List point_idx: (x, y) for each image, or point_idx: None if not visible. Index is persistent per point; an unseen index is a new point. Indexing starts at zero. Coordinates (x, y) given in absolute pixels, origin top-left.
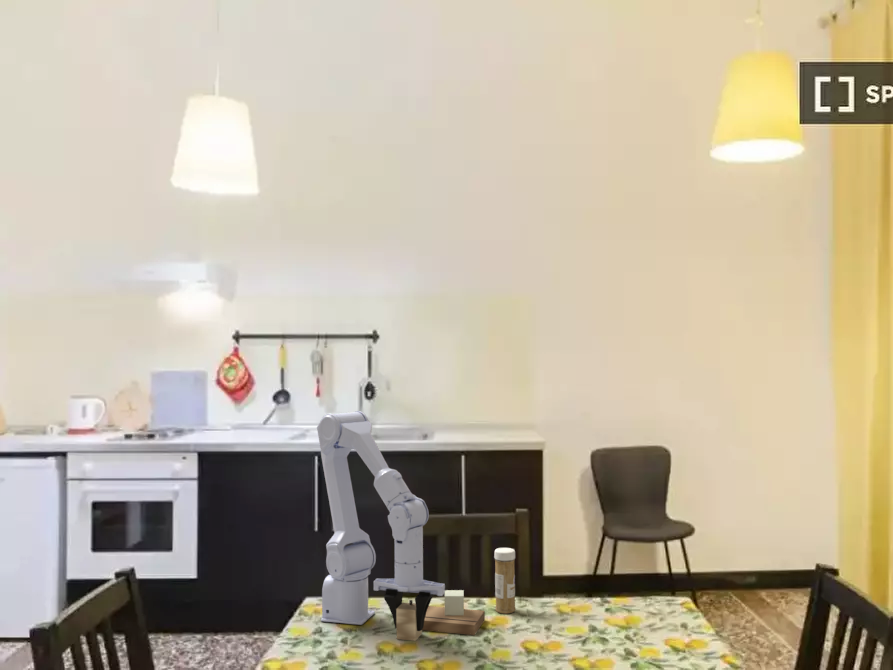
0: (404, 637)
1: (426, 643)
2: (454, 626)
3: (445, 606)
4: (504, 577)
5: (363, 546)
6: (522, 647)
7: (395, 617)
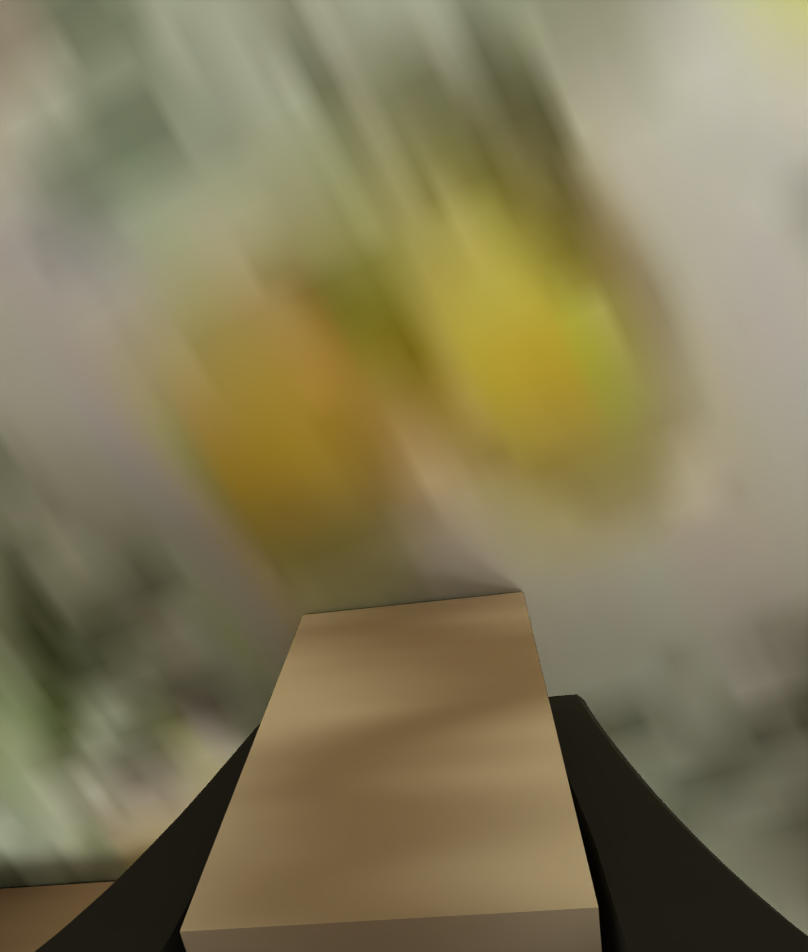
0: (427, 612)
1: (168, 596)
2: (41, 945)
3: None
4: None
5: None
6: None
7: (596, 785)
